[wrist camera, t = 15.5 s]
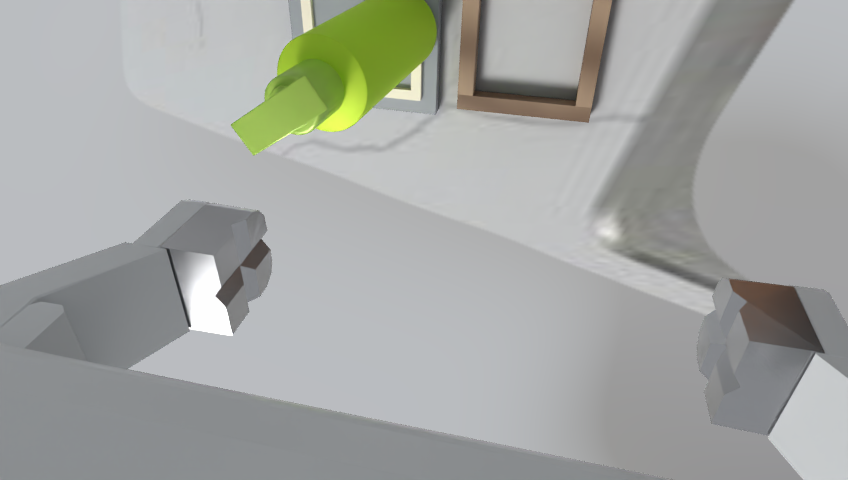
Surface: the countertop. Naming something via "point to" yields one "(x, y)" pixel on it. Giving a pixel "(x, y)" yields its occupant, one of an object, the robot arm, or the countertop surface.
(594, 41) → the walnut template frame
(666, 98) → the countertop surface
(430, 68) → the slate board
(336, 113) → the soap dispenser
